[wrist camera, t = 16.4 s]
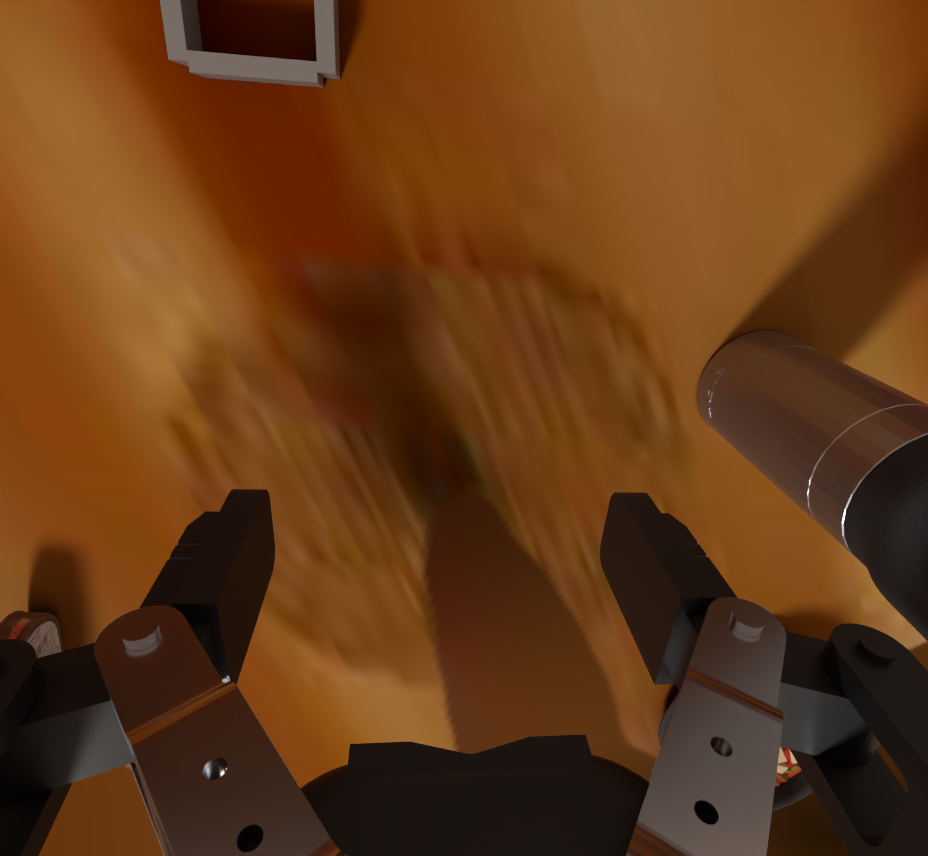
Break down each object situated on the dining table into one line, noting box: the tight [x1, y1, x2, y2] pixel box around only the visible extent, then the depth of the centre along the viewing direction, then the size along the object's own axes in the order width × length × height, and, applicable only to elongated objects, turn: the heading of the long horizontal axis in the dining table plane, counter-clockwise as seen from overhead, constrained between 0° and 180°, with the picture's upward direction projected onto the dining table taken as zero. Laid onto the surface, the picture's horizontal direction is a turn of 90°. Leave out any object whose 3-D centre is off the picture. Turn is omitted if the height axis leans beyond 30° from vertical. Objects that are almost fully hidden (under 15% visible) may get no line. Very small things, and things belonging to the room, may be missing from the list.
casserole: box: [658, 693, 813, 811], centre depth 62 cm, size 25×19×8 cm
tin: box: [0, 611, 64, 658], centre depth 48 cm, size 15×3×8 cm, turn 168°
